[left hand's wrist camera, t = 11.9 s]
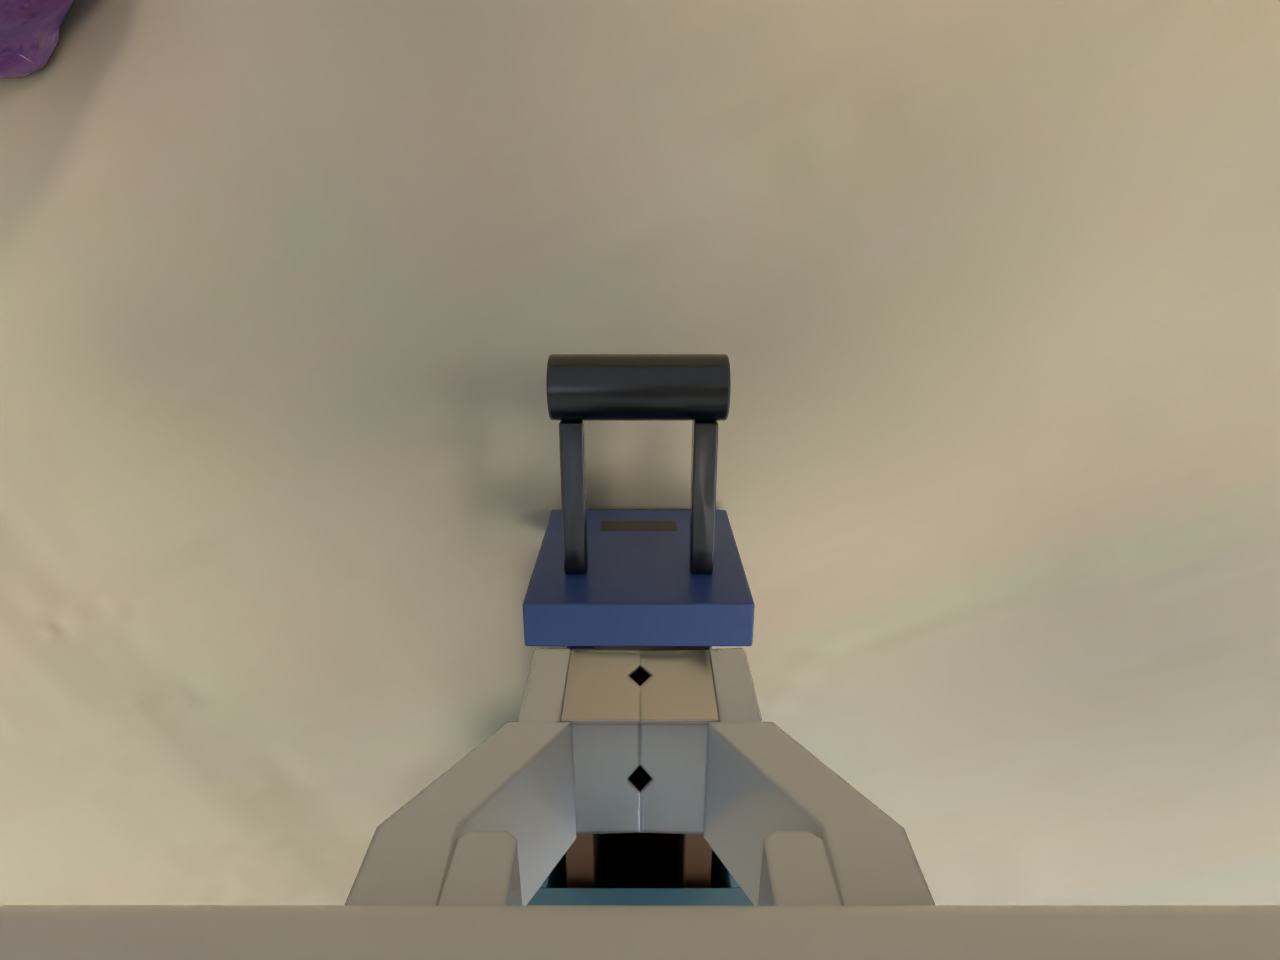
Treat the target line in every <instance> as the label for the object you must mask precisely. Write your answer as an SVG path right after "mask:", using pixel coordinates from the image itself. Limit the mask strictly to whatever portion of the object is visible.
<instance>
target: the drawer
mask: <svg viewBox="0 0 1280 960" xmlns="http://www.w3.org/2000/svg"><path fill="white" fill-rule="evenodd" d="M547 405H548V412H549V417H550V419H551V420H561V421H560V423H559V440H560V468H561V496H562V510H552V513H551V516H550V519H549V522H548V525H547V529H546V532H545V535H544V538H543V541H542V545H541V548H540V551H539V554H538V557H537V560H536V564H535V567H534V570H533V573H532V576H531V580H530V583H529V586H528V589H527V592H526V596H525V599H524V602H523V621H524V638H525V645H526V646H566V649H570V650H572V649H607V650H640V651H677V650H709V649H711V646H751V645H752V641H753V623H754V602H753V598H752V595H751V592H750V588H749V585H748V582H747V579H746V575H745V572H744V569H743V565H742V562H741V559H740V556H739V552H738V549H737V546H736V542H735V539H734V536H733V532H732V529H731V526H730V523H729V519H728V516H727V513H726V511H725V510H715V504H716V475H717V447H718V423H717V420H726V419H727V417H728V413H729V406H730V364H729V358H728V356H727V355H726V354H551V355H550V356H549V359H548V364H547ZM585 420H692V462H691V505H690V510H587V492H586V451H585ZM565 857H566V881H567V888H711V866H712V848H711V847H710V845H709V844H708V843H707V841H706V840H705V839H704V834H672V833H607V834H576V839H575V841H574V842H573V843H572V845H571V846H570V847H569V849H568V850H567V851H566V853H565Z"/></svg>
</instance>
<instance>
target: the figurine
mask: <svg viewBox="0 0 1280 960" xmlns="http://www.w3.org/2000/svg"><path fill="white" fill-rule="evenodd" d="M73 2H74V0H0V78H21V77H24V76H26V75H29V74H31V73H33V72H36V71H38V70H40V69H43V68H44V66H45V65H46V63H47V61H48V59H49V57H50V56H51V54H52V52H53V50H54V48H55V47H56V45H57V43H58V41H59V26H60V24H61V23H62V21H63V19H64V17H65V16H66V14H67V12H68V10H69V9H70V7H71V5H72V4H73Z"/></svg>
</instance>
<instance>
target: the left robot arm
mask: <svg viewBox="0 0 1280 960" xmlns="http://www.w3.org/2000/svg"><path fill="white" fill-rule="evenodd" d="M607 833H672V834H704V839H705V840H706V841H707V843H708V844H709V845H710V847H711V848H712V849H713V851H714V852H715V853H716V855H717V856H718V857H719V859H720V860H721V862H722V863H723V864H724V866H725V867H726V868H727V870H728V871H729V872H730V874H731V875H732V876H733V878H734V879H735V880H736V882H737V883H738V885H739V886H740V887H741V889H742V890H743V891H744V893H745V894H746V895H747V897H748V898H749V899H750V901H751V902H752V904H753V905H754V906H626V905H527V904H528V903H529V901H530V900H531V899H532V897H533V896H534V895H535V893H536V892H537V890H538V889H539V888H540V886H541V885H542V884H543V882H544V881H545V880H546V878H547V877H548V876H549V874H550V873H551V872H552V870H553V869H554V868H555V866H556V865H557V864H558V862H559V861H560V860H561V858H562V857H563V855H564V854H565V853H566V851H567V850H568V849H569V847H570V846H571V845H572V843H573V842H574V841H575V839H576V834H607ZM0 960H1280V905H1218V906H936V905H935V903H934V901H933V898H932V896H931V893H930V891H929V888H928V886H927V883H926V881H925V879H924V876H923V874H922V871H921V869H920V866H919V864H918V861H917V859H916V857H915V854H914V852H913V849H912V847H911V844H910V842H909V839H908V837H907V835H906V832H905V830H904V828H903V827H902V826H900V825H899V824H898V823H897V822H895V821H894V820H893V819H892V818H890V817H889V816H888V815H887V814H885V813H884V812H883V811H882V810H881V809H879V808H878V807H877V806H876V805H874V804H873V803H872V802H871V801H869V800H868V799H867V798H866V797H864V796H863V795H862V794H861V793H860V792H858V791H857V790H856V789H855V788H853V787H852V786H851V785H850V784H848V783H847V782H846V781H845V780H843V779H842V778H841V777H840V776H838V775H837V774H836V773H835V772H834V771H832V770H831V769H830V768H829V767H827V766H826V765H825V764H824V763H822V762H821V761H820V760H819V759H817V758H816V757H815V756H814V755H813V754H811V753H810V752H809V751H808V750H806V749H805V748H804V747H803V746H801V745H800V744H799V743H798V742H796V741H795V740H794V739H793V738H791V737H790V736H789V735H788V734H787V733H785V732H784V731H783V730H782V729H780V728H779V727H778V726H777V725H775V724H774V723H773V722H762V719H761V714H760V710H759V706H758V701H757V697H756V693H755V689H754V684H753V680H752V676H751V671H750V667H749V663H748V658H747V654H746V651H745V650H744V649H743V648H732V649H709V650H677V651H640V650H607V649H572V650H570V649H537V650H536V651H535V652H534V654H533V658H532V662H531V666H530V671H529V675H528V679H527V684H526V688H525V692H524V697H523V701H522V706H521V710H520V714H519V719H518V722H507V723H506V724H505V725H503V726H502V727H501V728H500V729H498V730H497V731H496V732H495V733H493V734H492V735H491V736H490V737H488V738H487V739H486V740H485V741H483V742H482V743H481V744H480V745H479V746H477V747H476V748H475V749H474V750H472V751H471V752H470V753H469V754H467V755H466V756H465V757H464V758H462V759H461V760H460V761H459V762H457V763H456V764H455V765H454V766H452V767H451V768H450V769H449V770H447V771H446V772H445V773H444V774H442V775H441V776H440V777H439V778H438V779H436V780H435V781H434V782H433V783H431V784H430V785H429V786H428V787H426V788H425V789H424V790H423V791H421V792H420V793H419V794H418V795H416V796H415V797H414V798H413V799H411V800H410V801H409V802H408V803H406V804H405V805H404V806H403V807H401V808H400V809H399V810H398V811H396V812H395V813H394V814H393V815H392V816H390V817H389V818H388V819H387V820H385V821H384V822H383V823H382V824H380V825H379V826H378V827H377V828H376V831H375V833H374V835H373V838H372V840H371V843H370V845H369V847H368V850H367V852H366V855H365V857H364V860H363V862H362V864H361V867H360V869H359V872H358V874H357V876H356V879H355V881H354V884H353V886H352V888H351V891H350V893H349V896H348V898H347V900H346V903H345V905H344V906H215V905H0Z"/></svg>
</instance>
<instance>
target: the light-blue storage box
mask: <svg viewBox="0 0 1280 960" xmlns="http://www.w3.org/2000/svg"><path fill="white" fill-rule="evenodd" d="M527 905H626V906H754V905H753V904H752V902H751V901H750V899H749V898H748V897H747V895H746V894H745V893H744V891H743V890H742V889H741V887H740V886H739V885H738V883H737V882H736V880H735V879H734V878H733V876H732V875H731V874H730V872H729V871H728V870H727V868H726V867H725V866H724V864H723V863H722V862H721V860H720V859H719V857H718V856H717V855H716V853H715V852H714V851H713V849H712V866H711V888H567V881H566V857H565V854H564V855H563V857H562V858H561V860H560V861H559V862H558V864H557V865H556V866H555V868H554V869H553V870H552V872H551V873H550V874H549V876H548V877H547V878H546V880H545V881H544V882H543V884H542V885H541V886H540V888H539V889H538V890H537V892H536V893H535V895H534V896H533V897H532V899H531V900H530V901H529V903H528V904H527Z"/></svg>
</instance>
